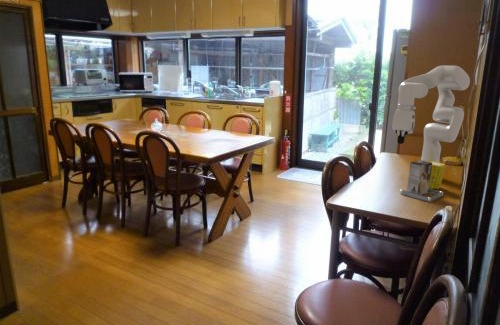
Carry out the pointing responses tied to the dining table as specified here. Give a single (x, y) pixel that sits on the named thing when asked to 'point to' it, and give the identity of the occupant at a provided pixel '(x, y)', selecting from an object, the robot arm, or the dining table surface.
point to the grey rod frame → (421, 197)
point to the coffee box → (419, 177)
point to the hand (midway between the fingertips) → (400, 143)
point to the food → (436, 174)
